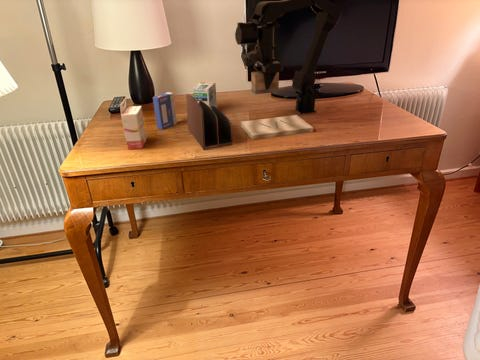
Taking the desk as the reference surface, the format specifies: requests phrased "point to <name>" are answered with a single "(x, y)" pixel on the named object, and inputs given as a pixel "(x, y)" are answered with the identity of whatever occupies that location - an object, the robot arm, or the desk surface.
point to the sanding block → (263, 83)
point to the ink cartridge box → (133, 125)
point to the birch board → (276, 127)
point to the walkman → (165, 110)
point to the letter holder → (208, 124)
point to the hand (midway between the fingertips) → (265, 87)
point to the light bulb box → (205, 93)
